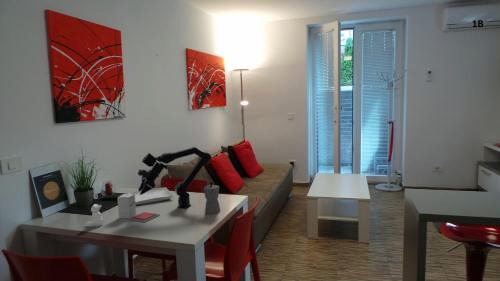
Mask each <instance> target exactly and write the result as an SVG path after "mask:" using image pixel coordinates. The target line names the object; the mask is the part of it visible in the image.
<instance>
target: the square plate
mask: <svg viewBox="0 0 500 281" xmlns="http://www.w3.org/2000/svg"><path fill="white" fill-rule="evenodd" d="M141 191H142V190H141ZM141 191H138V190H135V191H128V192H127V193H126V194H135V205H144V204H149V203H156V202H162V201H167V200H171V199H172V198H173V197H174V194H173V193H172V192H171V191H170V190H169V189H168V188H167V187H156V188H155V187H154V188H153V189H151V190H149V191H147V192H146V193H144V194H142V195H141V194H140V193H141Z"/></svg>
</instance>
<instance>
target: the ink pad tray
mask: <svg viewBox="0 0 500 281" xmlns="http://www.w3.org/2000/svg"><path fill="white" fill-rule="evenodd" d="M158 217H160V213H154V212H146V211H143V212H140V213H138V214H136V215H134V216H132V217H131V218H128V220H129V221H133V222H140V223H148V222H149V221H152V220H153V219H155V218H158Z"/></svg>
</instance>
